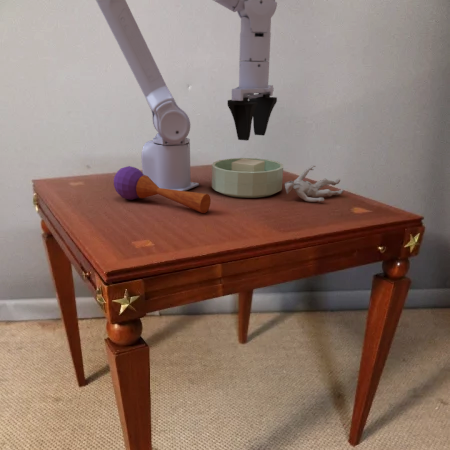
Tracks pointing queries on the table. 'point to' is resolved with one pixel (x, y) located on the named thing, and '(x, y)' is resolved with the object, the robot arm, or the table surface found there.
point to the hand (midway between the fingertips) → (251, 137)
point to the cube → (248, 165)
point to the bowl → (247, 179)
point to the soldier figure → (311, 188)
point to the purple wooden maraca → (155, 190)
